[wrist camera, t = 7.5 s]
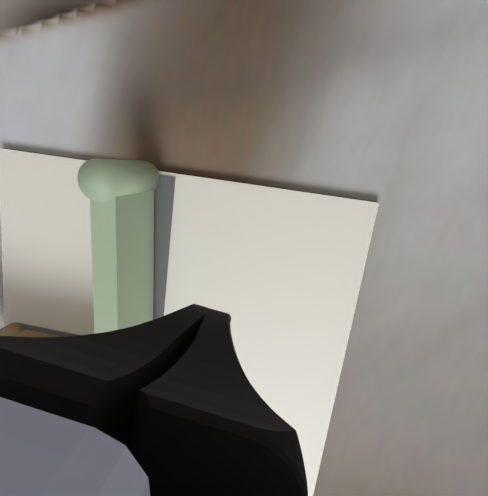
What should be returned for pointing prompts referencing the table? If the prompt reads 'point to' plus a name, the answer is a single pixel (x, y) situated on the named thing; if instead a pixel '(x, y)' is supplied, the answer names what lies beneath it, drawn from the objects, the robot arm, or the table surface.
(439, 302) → the table surface
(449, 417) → the table surface
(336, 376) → the card
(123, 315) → the hinged fence section
